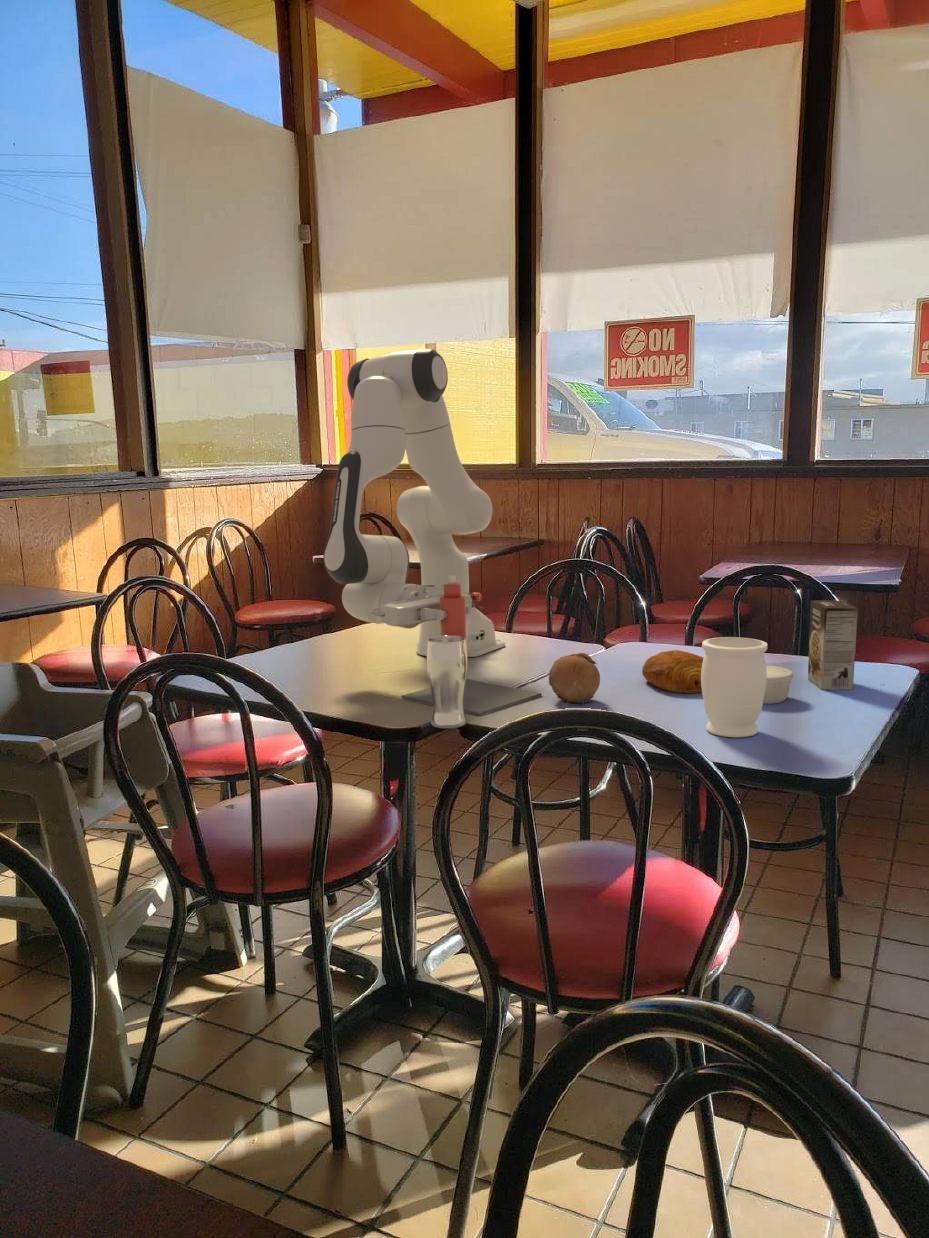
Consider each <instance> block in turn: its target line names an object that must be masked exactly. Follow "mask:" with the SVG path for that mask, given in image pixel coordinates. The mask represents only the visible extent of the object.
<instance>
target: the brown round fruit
mask: <svg viewBox="0 0 929 1238" xmlns="http://www.w3.org/2000/svg"><path fill="white" fill-rule="evenodd" d="M597 664H598V663H597V662H596V661H595V660H594V659H593V658H591V656H590V655H589V654H587V653H585V652H579V653H573V654H570V655H569V654H568V655H564V656H561V657H559V658H558V659H556V660H555V661H554V662H553V664H552V665H551V668H550V669H549V675H548V684H549V687H550V686H551V689H552V692H554V693H555V695H556V696H557V698H558V699H560V700H561V701H563V702H564V703H565V702H566V703H567V702H568V703H571V702H574V703H575V702H581V703H583V702H586V703H587V701H590V700H591V699H593V698H594V697H595V694H596V693H597V691H598V689H599V686H600V683H601V674H600V671H599V669H598V667H597V666H596V665H597ZM575 704H576V703H575Z"/></svg>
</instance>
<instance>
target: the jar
mask: <svg viewBox="0 0 929 1238" xmlns="http://www.w3.org/2000/svg"><path fill="white" fill-rule="evenodd" d="M701 643H702V644H701V648H702V649H703V650H704V656H703V657H704V658H703V663H702V670H701V687H702V691H701V694H702V700H703V707H704V710H705V714H706V716H707V718H708V719H709V720H708V723H706V727H705V728H706V731H707V732H709V733H711V734H713V735H716V736H720V737H724V738H725V737H726V738H749V737H752V736H755V735H756V734H757V733H758V732H759V728H758V726H757V723H756V722H757V721H758V719H759V717H760V715H761V712H762V708H763V705H764V704H763V698H764V694H765V690H766V681H767V672H766V665H767V663H766V659H765V655H764V653H765V652H767V651H768V643H767V642H766V641H764V640H760V639H755V638H751V637H750V638H749V637H740V636H739V637H738V636H737V637H736V636H725V637H724V636H721V637H720V636H719V637H713V638H711V637H710V638H707V639H704V640H702V642H701Z"/></svg>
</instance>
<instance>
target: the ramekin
mask: <svg viewBox="0 0 929 1238" xmlns="http://www.w3.org/2000/svg"><path fill="white" fill-rule="evenodd" d="M766 672H767V681H766V690H765V694H764V698H763V705H767V704H779V703H782V702H784V701H786V699H787V698H788V696H789V692H790V687H791V684H792V683H791V682H792V680H793V677H794V673H793V671H792V670H790V669H788V668H785V667H783V666H782V667H781V666H776V665H767V664H766Z"/></svg>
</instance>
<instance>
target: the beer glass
mask: <svg viewBox="0 0 929 1238" xmlns="http://www.w3.org/2000/svg"><path fill="white" fill-rule="evenodd" d="M426 670H427V671H426V672H427V677H428V683H429V688H431V693H432V699H433V705H432V712H431V713H432V714H431V720H430V725H431V726H433V727H434V728H438V729H457V728H461V727H463V726H465V725H466V724H467V719H466V715H465V714H466V713H464V706H463V699H464V691H465V685H466V679H468V678H467V677H468V657H467V649H466V638H464V637H461V636H436V637H431V638H429V639H428V646H427V656H426Z"/></svg>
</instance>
